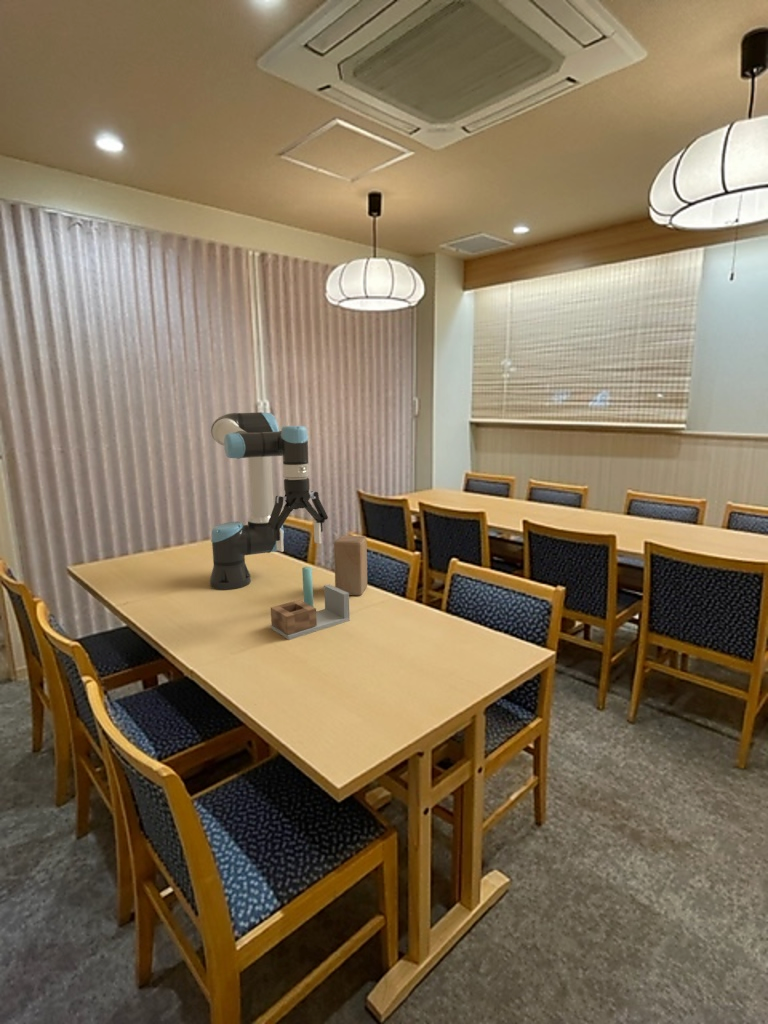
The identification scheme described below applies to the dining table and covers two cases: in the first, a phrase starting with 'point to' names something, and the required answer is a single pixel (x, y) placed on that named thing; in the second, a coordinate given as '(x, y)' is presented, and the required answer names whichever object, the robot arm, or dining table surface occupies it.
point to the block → (351, 564)
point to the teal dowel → (307, 585)
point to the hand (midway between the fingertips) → (299, 546)
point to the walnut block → (293, 616)
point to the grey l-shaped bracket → (326, 612)
